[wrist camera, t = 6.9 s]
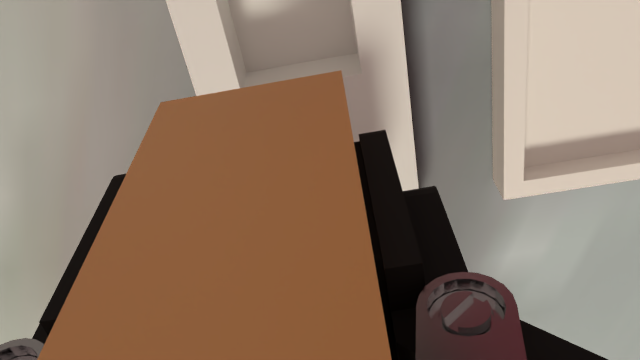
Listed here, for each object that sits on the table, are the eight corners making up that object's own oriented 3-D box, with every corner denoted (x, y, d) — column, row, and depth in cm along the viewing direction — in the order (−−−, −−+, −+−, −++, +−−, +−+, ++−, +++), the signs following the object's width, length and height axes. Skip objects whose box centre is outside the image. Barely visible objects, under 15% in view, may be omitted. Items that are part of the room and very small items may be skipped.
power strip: (377, -131, 23) (388, -124, 20) (414, 220, 32) (425, 260, 29) (162, -88, 23) (141, -75, 20) (261, 244, 33) (257, 285, 30)
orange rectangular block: (341, 70, 12) (397, 391, 5) (365, 217, 14) (427, 579, 7) (160, 102, 12) (-5, 446, 6) (211, 242, 14) (136, 612, 8)
